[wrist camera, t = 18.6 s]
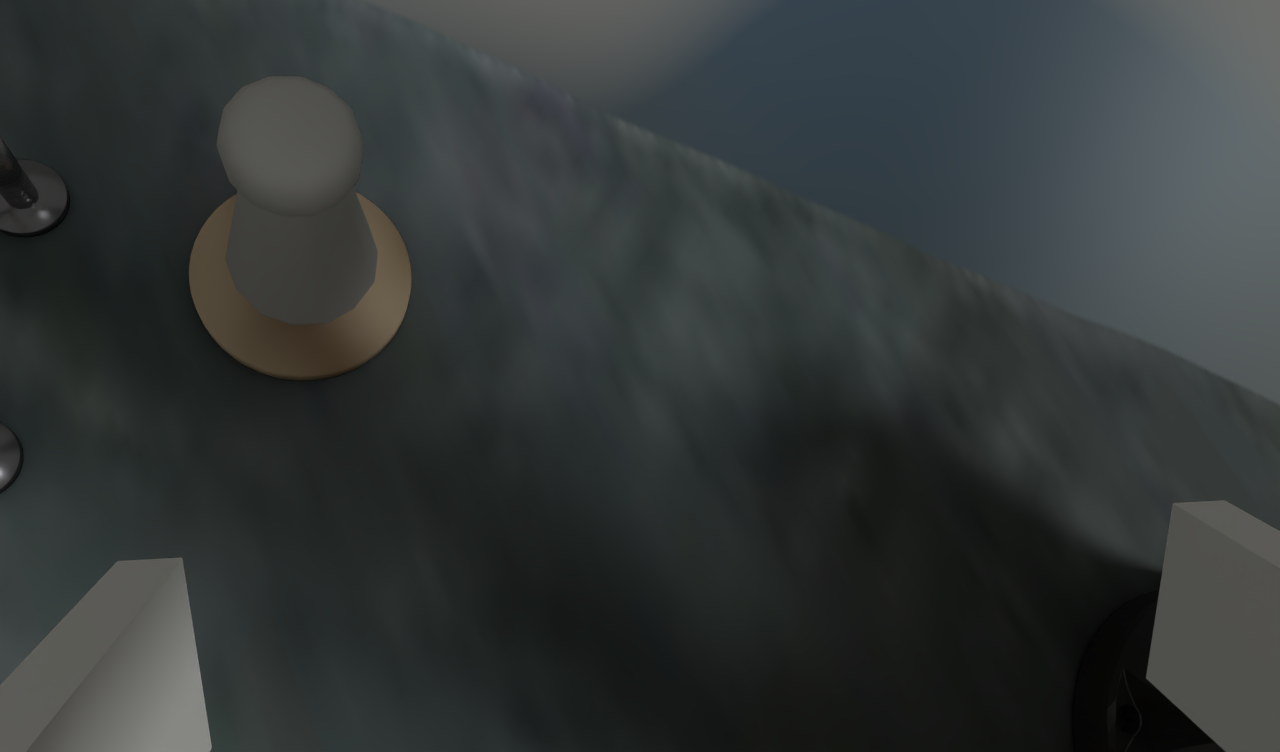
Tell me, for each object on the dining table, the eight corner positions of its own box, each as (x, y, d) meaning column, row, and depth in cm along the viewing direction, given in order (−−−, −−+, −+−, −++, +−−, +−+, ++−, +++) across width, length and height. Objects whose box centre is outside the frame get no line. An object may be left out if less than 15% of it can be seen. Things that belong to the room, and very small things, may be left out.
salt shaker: (403, 282, 41) (429, 141, 29) (303, 368, 39) (287, 254, 27) (307, 188, 41) (294, 8, 29) (201, 269, 39) (139, 110, 27)
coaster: (346, 157, 43) (347, 147, 42) (447, 322, 43) (449, 316, 42) (152, 237, 40) (147, 228, 39) (258, 418, 39) (256, 413, 38)
